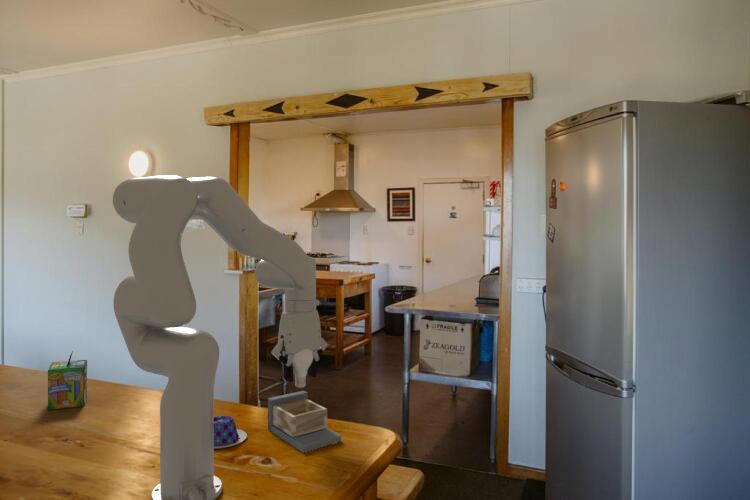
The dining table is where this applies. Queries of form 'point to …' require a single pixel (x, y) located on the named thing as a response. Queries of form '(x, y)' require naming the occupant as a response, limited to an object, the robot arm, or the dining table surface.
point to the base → (305, 440)
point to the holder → (299, 417)
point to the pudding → (226, 432)
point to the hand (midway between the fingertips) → (300, 377)
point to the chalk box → (67, 384)
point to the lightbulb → (301, 366)
